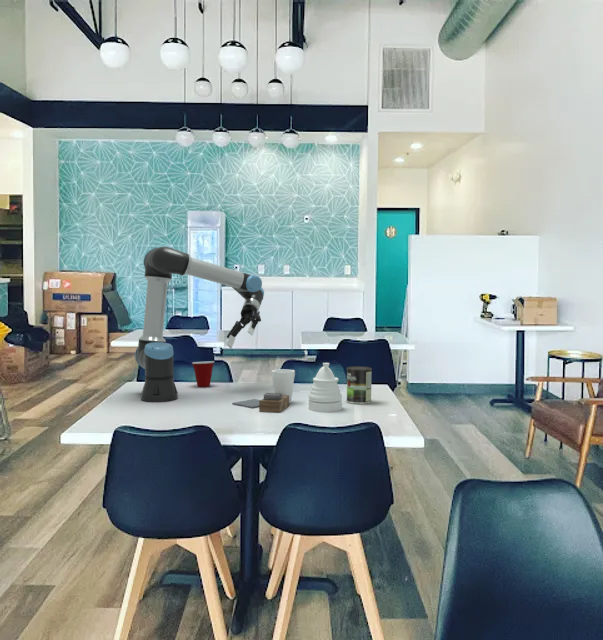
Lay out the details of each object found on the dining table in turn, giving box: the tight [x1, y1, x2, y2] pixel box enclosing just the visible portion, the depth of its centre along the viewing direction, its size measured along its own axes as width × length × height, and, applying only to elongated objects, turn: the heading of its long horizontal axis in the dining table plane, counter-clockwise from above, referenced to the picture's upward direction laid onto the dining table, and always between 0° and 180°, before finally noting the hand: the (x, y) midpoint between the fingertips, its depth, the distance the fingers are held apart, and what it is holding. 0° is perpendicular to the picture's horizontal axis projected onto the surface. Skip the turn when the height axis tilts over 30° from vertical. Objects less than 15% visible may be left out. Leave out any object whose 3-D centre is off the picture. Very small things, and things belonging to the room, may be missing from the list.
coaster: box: [232, 398, 261, 409], centre depth 247 cm, size 12×12×1 cm
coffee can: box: [346, 365, 373, 405], centre depth 251 cm, size 10×10×14 cm
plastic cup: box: [191, 360, 215, 388], centre depth 292 cm, size 11×11×12 cm
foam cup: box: [271, 368, 296, 404], centre depth 251 cm, size 10×9×13 cm
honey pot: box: [308, 362, 343, 413], centre depth 237 cm, size 13×13×18 cm
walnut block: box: [258, 392, 290, 413], centre depth 238 cm, size 14×8×6 cm, turn 167°
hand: (239, 340), depth 269 cm, fingers open, 13 cm apart
